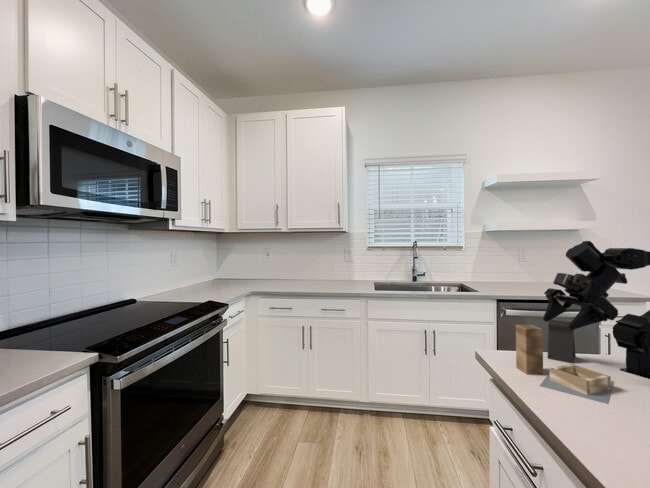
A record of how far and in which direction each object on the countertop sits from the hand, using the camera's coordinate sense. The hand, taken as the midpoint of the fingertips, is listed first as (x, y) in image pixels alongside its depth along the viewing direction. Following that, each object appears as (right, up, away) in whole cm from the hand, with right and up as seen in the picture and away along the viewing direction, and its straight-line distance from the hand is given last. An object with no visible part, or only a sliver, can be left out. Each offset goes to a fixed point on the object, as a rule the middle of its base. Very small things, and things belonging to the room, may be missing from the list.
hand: (556, 324), depth 85 cm
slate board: (-1, -13, -8) cm, 16 cm away
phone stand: (+9, -14, +10) cm, 20 cm away
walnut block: (-7, -14, 0) cm, 16 cm away
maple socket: (-1, -12, -9) cm, 15 cm away
